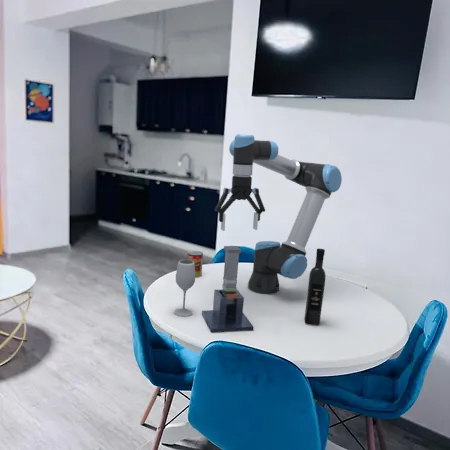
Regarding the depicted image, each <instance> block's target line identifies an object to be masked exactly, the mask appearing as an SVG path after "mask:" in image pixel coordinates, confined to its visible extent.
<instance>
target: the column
mask: <svg viewBox="0 0 450 450" xmlns="http://www.w3.org/2000/svg"><path fill="white" fill-rule="evenodd" d="M223 250H224V252H225V254H224V255H225V256H224V267H223V268H224V269H223V276H222V280H223V281H222V286H221V287H222V289H223V292H222V296H223V297H226V294H236V290H238V288H237V285H238V271H239V259H240V258H239V257H240V254H242V249H241V248H240V247H239V246H238V245H223ZM235 299H236V298H227V304H235Z"/></svg>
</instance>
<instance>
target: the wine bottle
mask: <svg viewBox="0 0 450 450" xmlns="http://www.w3.org/2000/svg"><path fill="white" fill-rule="evenodd" d="M325 251H326V250H325V249H324V248H317V249H316V253H315V255H316V256H315V257H316V258H315V264H314V266H313V267H312V268H311V270H310V272H309V277H308V284H307V292H306V301H305V310H304V316H303V319H304V320H303V321H304V324H305V325H307V326H308V325H310V326H317V327H318V326H320V323H321V315H322V309H323V302H324V301H323V300H324V299H323V298H324V293H325V285H326V272H325V269H324V268H323V265H324V258H325V257H324V256H325Z"/></svg>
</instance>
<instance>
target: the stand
mask: <svg viewBox="0 0 450 450" xmlns="http://www.w3.org/2000/svg"><path fill="white" fill-rule="evenodd" d="M222 292H223V288H221V289H214V291H213V293H214V295H213V303H212V304H213V307H212V309H211V310H209V309H207V310H201V315H202V318H203V319H204V322H205V324H206V325H207V328H208V330H209V332H210V333H211V334H215V333H232V332H233V333H235V332H249V331H250V332H252V331H254V328H255V327H254V325H253V324H252V322H250V320H249V318H248V317H247V316H246V314H245V313H244V304H245V303H244V301H245V297H244V296H243V295H242V294H241V293H240V291H239V289H237V290H236V294H226V297H223V296H222ZM227 298H236V299H235V304H227Z"/></svg>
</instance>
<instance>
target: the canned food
mask: <svg viewBox="0 0 450 450" xmlns="http://www.w3.org/2000/svg"><path fill="white" fill-rule="evenodd" d="M203 258H204V252H203V251H200V250H195V249H193V250H188V251H187V254H186V260H192V261H194V265H195V279H196V278H197V279H198V278H201V277H202V273H203V272H202V271H203V262H204V261H203Z"/></svg>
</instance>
